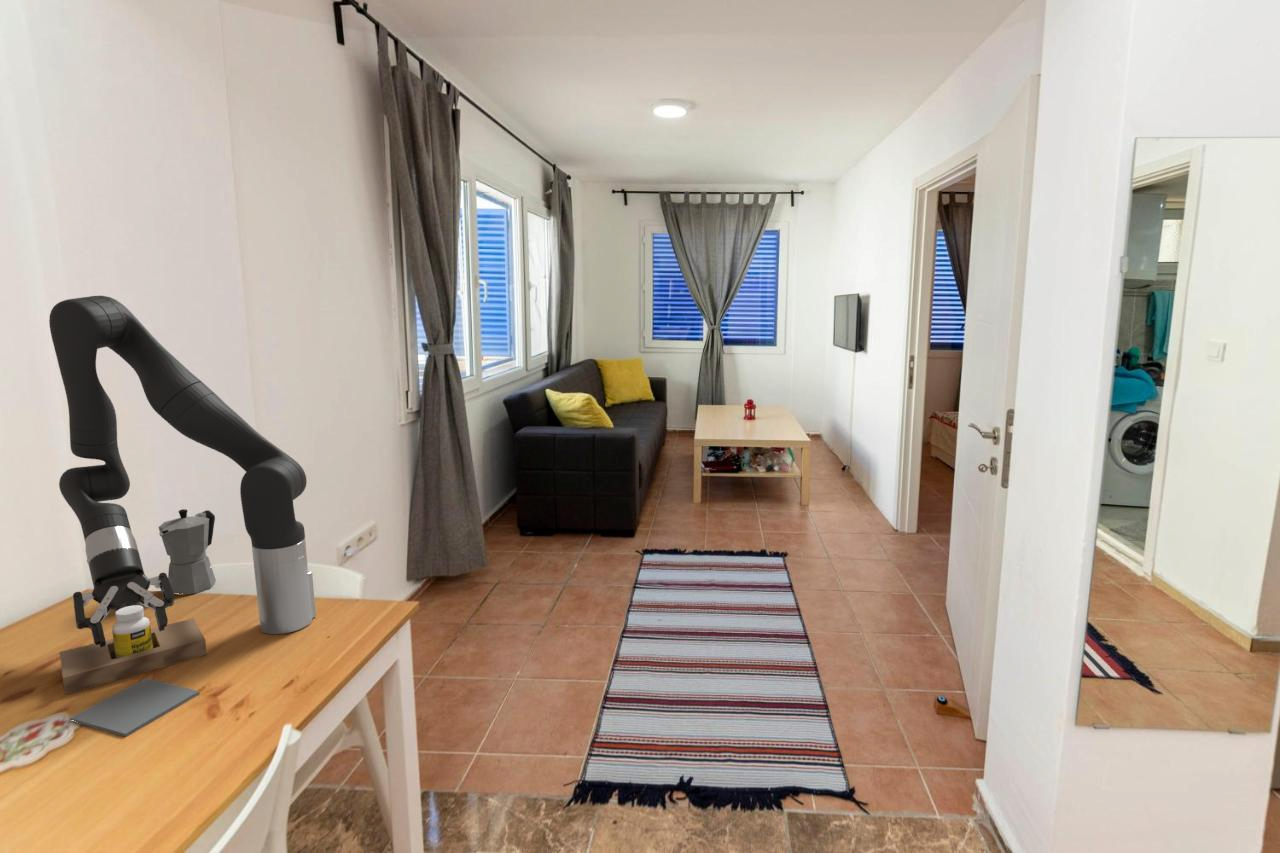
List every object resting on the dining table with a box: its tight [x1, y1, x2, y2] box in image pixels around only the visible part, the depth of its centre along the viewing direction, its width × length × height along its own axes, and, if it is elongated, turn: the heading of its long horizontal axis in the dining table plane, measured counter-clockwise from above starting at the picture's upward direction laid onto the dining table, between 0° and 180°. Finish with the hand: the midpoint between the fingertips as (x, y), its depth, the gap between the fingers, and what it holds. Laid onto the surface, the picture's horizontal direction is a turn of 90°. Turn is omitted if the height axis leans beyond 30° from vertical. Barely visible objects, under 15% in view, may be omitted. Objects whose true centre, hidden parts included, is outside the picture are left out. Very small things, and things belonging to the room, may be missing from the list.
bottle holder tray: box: [59, 617, 208, 696], centre depth 124 cm, size 20×11×3 cm, turn 131°
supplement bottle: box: [111, 604, 153, 659], centre depth 124 cm, size 5×5×10 cm
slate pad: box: [69, 677, 201, 737], centre depth 111 cm, size 12×12×1 cm
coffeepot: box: [158, 508, 217, 595], centre depth 155 cm, size 15×9×18 cm, turn 174°
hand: (133, 636), depth 123 cm, fingers open, 8 cm apart
